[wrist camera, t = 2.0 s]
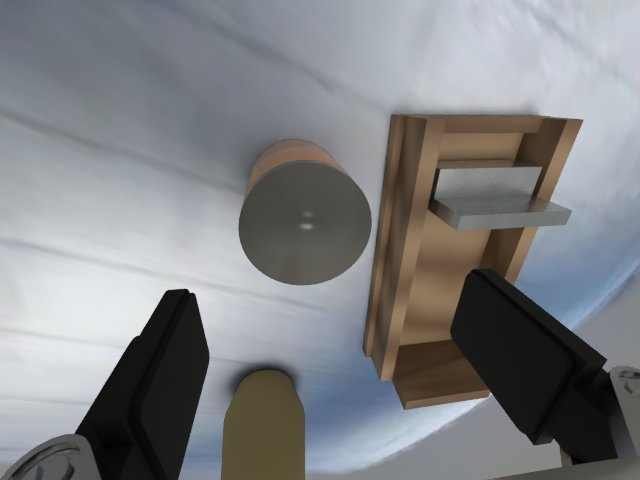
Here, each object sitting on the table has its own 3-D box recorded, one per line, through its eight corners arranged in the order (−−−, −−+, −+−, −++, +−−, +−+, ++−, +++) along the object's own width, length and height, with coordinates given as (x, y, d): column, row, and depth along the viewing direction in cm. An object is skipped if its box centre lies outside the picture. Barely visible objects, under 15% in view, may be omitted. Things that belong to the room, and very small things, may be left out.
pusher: (422, 161, 20) (470, 182, 15) (514, 159, 21) (587, 178, 16) (415, 200, 22) (456, 231, 17) (502, 196, 23) (565, 224, 18)
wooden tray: (392, 114, 20) (445, 124, 14) (539, 115, 21) (646, 124, 15) (363, 349, 31) (385, 412, 25) (461, 338, 33) (505, 394, 26)
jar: (245, 139, 19) (229, 165, 12) (341, 138, 20) (378, 162, 13) (254, 228, 22) (246, 289, 15) (337, 224, 23) (365, 280, 16)
